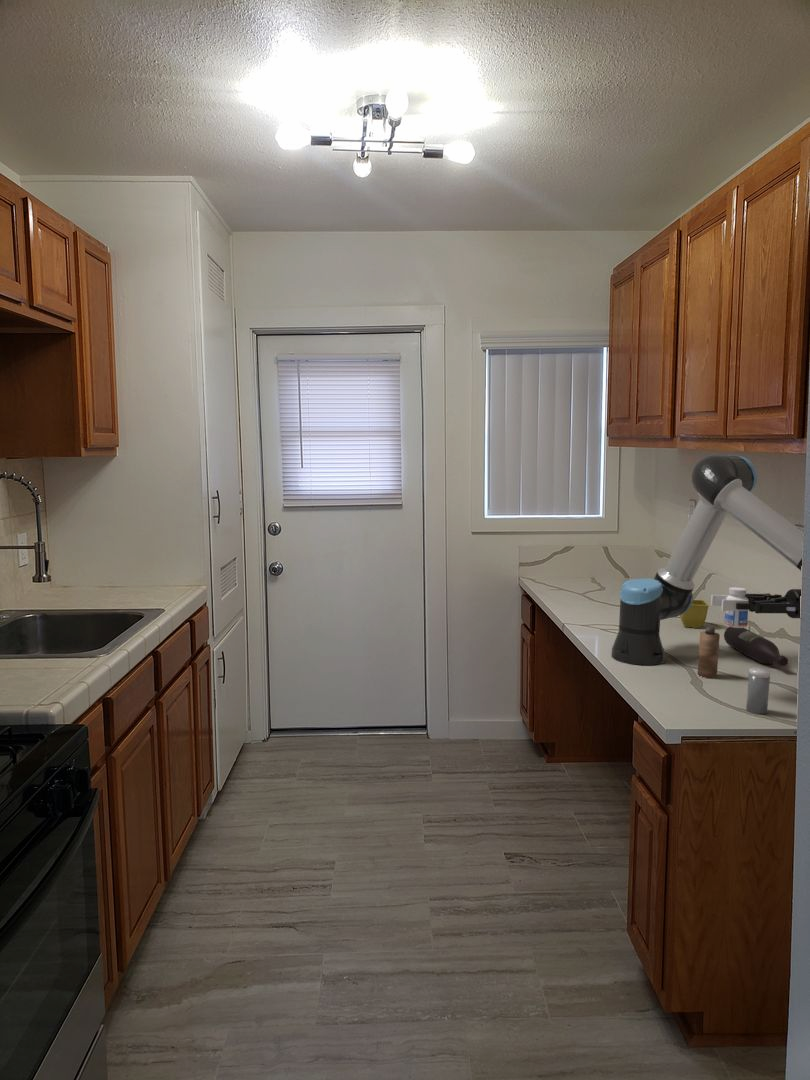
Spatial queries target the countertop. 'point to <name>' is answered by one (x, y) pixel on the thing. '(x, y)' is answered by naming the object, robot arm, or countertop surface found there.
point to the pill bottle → (736, 617)
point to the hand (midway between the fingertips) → (717, 602)
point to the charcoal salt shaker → (758, 690)
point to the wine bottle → (754, 646)
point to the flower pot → (695, 614)
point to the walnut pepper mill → (708, 653)
